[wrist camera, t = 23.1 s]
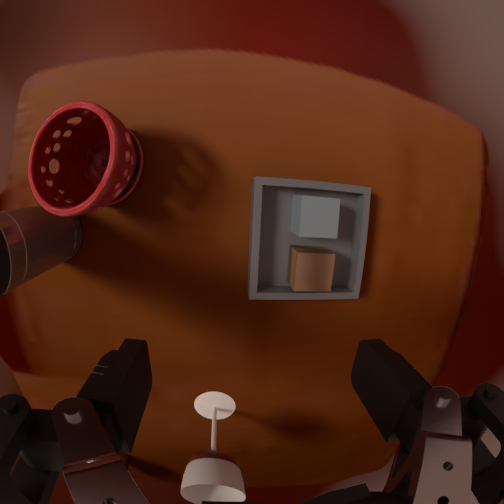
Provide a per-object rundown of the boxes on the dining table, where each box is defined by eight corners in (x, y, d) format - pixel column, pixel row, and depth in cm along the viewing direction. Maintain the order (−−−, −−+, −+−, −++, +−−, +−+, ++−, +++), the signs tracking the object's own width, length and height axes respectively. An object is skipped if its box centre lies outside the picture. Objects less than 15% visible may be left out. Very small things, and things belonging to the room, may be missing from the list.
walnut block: (286, 279, 40) (293, 291, 35) (289, 244, 39) (297, 252, 34) (319, 280, 41) (330, 291, 36) (323, 246, 40) (335, 254, 35)
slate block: (290, 230, 39) (299, 236, 34) (292, 194, 38) (301, 195, 33) (324, 232, 39) (337, 238, 34) (327, 197, 38) (340, 198, 33)
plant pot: (150, 115, 34) (121, 88, 23) (150, 206, 37) (118, 213, 25) (73, 128, 33) (28, 113, 22) (73, 212, 36) (26, 222, 24)
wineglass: (228, 424, 47) (231, 510, 27) (185, 411, 45) (173, 498, 26) (245, 399, 45) (256, 490, 26) (199, 384, 44) (190, 478, 24)
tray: (247, 290, 41) (249, 299, 37) (252, 177, 37) (254, 176, 34) (349, 290, 42) (358, 298, 39) (360, 187, 39) (371, 187, 35)
